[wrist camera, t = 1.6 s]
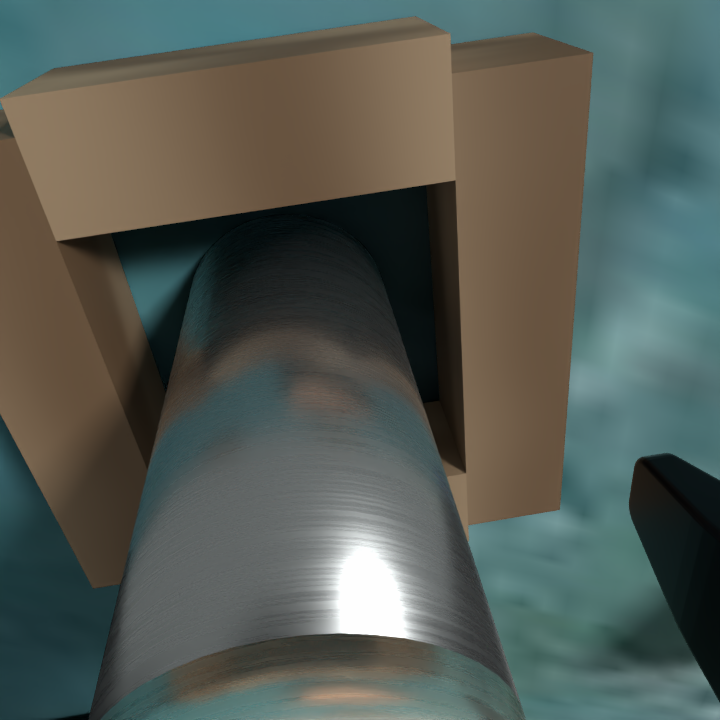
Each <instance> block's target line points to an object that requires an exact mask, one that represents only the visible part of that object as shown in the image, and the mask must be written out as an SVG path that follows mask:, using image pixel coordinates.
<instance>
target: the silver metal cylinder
mask: <svg viewBox="0 0 720 720" xmlns="http://www.w3.org/2000/svg"><path fill="white" fill-rule="evenodd" d="M89 720H526V718H525V715H524V712H523V709H522V706H521V703H520V700H519V697H518V694H517V691H516V688H515V685H514V681H513V678H512V675H511V672H510V669H509V666H508V663H507V660H506V657H505V654H504V651H503V648H502V645H501V642H500V639H499V636H498V632H497V629H496V626H495V623H494V620H493V617H492V614H491V611H490V608H489V605H488V602H487V599H486V596H485V593H484V590H483V587H482V583H481V580H480V577H479V574H478V571H477V568H476V565H475V562H474V559H473V556H472V553H471V550H470V547H469V544H468V541H467V538H466V534H465V531H464V528H463V525H462V522H461V519H460V516H459V513H458V510H457V507H456V504H455V501H454V498H453V495H452V492H451V489H450V485H449V482H448V479H447V476H446V473H445V470H444V467H443V464H442V461H441V458H440V455H439V452H438V449H437V446H436V443H435V440H434V436H433V433H432V430H431V427H430V424H429V421H428V418H427V415H426V412H425V409H424V406H423V403H422V400H421V397H420V394H419V391H418V388H417V384H416V381H415V378H414V375H413V372H412V369H411V366H410V363H409V360H408V357H407V354H406V351H405V348H404V345H403V342H402V339H401V335H400V332H399V329H398V326H397V323H396V320H395V317H394V314H393V311H392V308H391V305H390V302H389V299H388V296H387V293H386V290H385V286H384V283H383V280H382V277H381V274H380V271H379V269H378V267H377V265H376V263H375V261H374V259H373V258H372V257H371V255H370V254H369V252H368V251H367V250H366V249H365V248H364V246H363V245H362V244H361V243H360V242H359V241H358V240H357V239H355V238H354V237H353V236H352V235H350V234H349V233H348V232H346V231H344V230H343V229H341V228H339V227H338V226H336V225H334V224H331V223H329V222H327V221H324V220H321V219H317V218H314V217H310V216H304V215H294V214H281V215H270V216H266V217H261V218H257V219H254V220H251V221H249V222H246V223H244V224H242V225H240V226H238V227H236V228H234V229H232V230H231V231H229V232H228V233H226V234H225V235H223V236H222V237H221V238H220V239H219V240H218V241H217V242H216V243H214V244H213V245H212V247H211V248H210V249H209V250H208V251H207V253H206V254H205V255H204V257H203V258H202V260H201V262H200V264H199V265H198V267H197V270H196V272H195V275H194V278H193V282H192V286H191V290H190V294H189V298H188V303H187V307H186V311H185V315H184V319H183V324H182V328H181V332H180V336H179V341H178V345H177V349H176V353H175V357H174V362H173V366H172V370H171V374H170V378H169V383H168V387H167V391H166V395H165V399H164V404H163V408H162V412H161V416H160V421H159V425H158V429H157V433H156V437H155V442H154V446H153V450H152V454H151V458H150V463H149V467H148V471H147V475H146V480H145V484H144V488H143V492H142V496H141V501H140V505H139V509H138V513H137V517H136V522H135V526H134V530H133V534H132V539H131V543H130V547H129V551H128V555H127V560H126V564H125V568H124V572H123V576H122V581H121V585H120V589H119V593H118V597H117V602H116V606H115V610H114V614H113V619H112V623H111V627H110V631H109V635H108V640H107V644H106V648H105V652H104V656H103V661H102V665H101V669H100V673H99V678H98V682H97V686H96V690H95V694H94V699H93V703H92V707H91V711H90V715H89Z"/></svg>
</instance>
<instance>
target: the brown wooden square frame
mask: <svg viewBox="0 0 720 720" xmlns="http://www.w3.org/2000/svg"><path fill="white" fill-rule="evenodd" d="M592 63H593V53H592V52H589V51H586V50H583V49H580V48H577V47H574V46H571V45H568V44H565V43H562V42H560V41H557V40H554V39H551V38H548V37H545V36H542V35H539V34H536V33H526V34H519V35H513V36H506V37H499V38H492V39H485V40H478V41H471V42H464V43H458V44H451V40H450V33H448V32H446V31H444V30H442V29H440V28H438V27H436V26H434V25H432V24H430V23H428V22H426V21H424V20H422V19H420V18H418V17H416V16H415V17H408V18H401V19H394V20H387V21H380V22H373V23H367V24H360V25H353V26H346V27H339V28H332V29H325V30H318V31H311V32H304V33H297V34H290V35H283V36H276V37H269V38H262V39H255V40H248V41H241V42H234V43H228V44H221V45H214V46H207V47H200V48H193V49H186V50H179V51H172V52H165V53H158V54H151V55H144V56H137V57H130V58H123V59H116V60H109V61H102V62H95V63H89V64H82V65H75V66H68V67H61V68H54V69H52V70H50V71H48V72H47V73H45V74H43V75H41V76H39V77H38V78H36V79H34V80H32V81H31V82H29V83H27V84H25V85H24V86H22V87H20V88H18V89H16V90H15V91H13V92H11V93H9V94H8V95H6V96H4V97H2V98H1V99H0V101H1V104H2V106H3V109H4V110H0V414H1V416H2V418H3V420H4V422H5V424H6V426H7V427H8V429H9V431H10V433H11V435H12V437H13V439H14V441H15V442H16V444H17V446H18V448H19V450H20V452H21V454H22V456H23V458H24V459H25V461H26V463H27V465H28V467H29V469H30V471H31V473H32V474H33V476H34V478H35V480H36V482H37V484H38V486H39V488H40V490H41V491H42V493H43V495H44V497H45V499H46V501H47V503H48V505H49V506H50V508H51V510H52V512H53V514H54V516H55V518H56V520H57V522H58V523H59V525H60V527H61V529H62V531H63V533H64V535H65V537H66V538H67V540H68V542H69V544H70V546H71V548H72V550H73V552H74V554H75V555H76V557H77V559H78V561H79V563H80V565H81V567H82V569H83V570H84V572H85V574H86V576H87V578H88V580H89V582H90V584H91V586H92V587H93V589H94V588H100V587H106V586H112V585H118V584H121V581H122V576H123V572H124V568H125V564H126V560H127V555H128V551H129V547H130V543H131V539H132V534H133V530H134V526H135V522H136V517H137V513H138V509H139V505H140V501H141V496H142V492H143V488H144V484H145V480H146V475H147V471H148V467H149V463H150V458H151V454H152V450H153V446H154V442H155V437H156V433H157V429H158V425H159V421H160V416H161V412H162V408H163V404H164V399H165V395H166V391H165V389H164V386H163V383H162V380H161V377H160V374H159V371H158V368H157V366H156V363H155V360H154V357H153V354H152V351H151V348H150V345H149V342H148V340H147V337H146V334H145V331H144V328H143V325H142V322H141V319H140V316H139V314H138V311H137V308H136V305H135V302H134V299H133V296H132V293H131V291H130V288H129V285H128V282H127V279H126V276H125V273H124V270H123V267H122V265H121V262H120V259H119V256H118V253H117V250H116V247H115V244H114V242H113V239H112V236H111V233H113V232H120V231H126V230H133V229H139V228H146V227H153V226H159V225H166V224H172V223H179V222H185V221H192V220H199V219H205V218H212V217H218V216H225V215H231V214H238V213H245V212H251V211H258V210H264V209H271V208H277V207H284V206H291V205H297V204H304V203H310V202H317V201H323V200H330V199H337V198H343V197H350V196H356V195H363V194H369V193H376V192H383V191H389V190H396V189H402V188H409V187H415V186H422V185H426V189H427V205H428V221H429V238H430V254H431V270H432V286H433V303H434V319H435V335H436V351H437V367H438V384H439V401H433V402H427V403H423V406H424V409H425V412H426V415H427V418H428V421H429V424H430V427H431V430H432V433H433V436H434V440H435V443H436V446H437V449H438V452H439V455H440V458H441V461H442V464H443V467H444V470H445V473H446V476H447V479H448V482H449V485H450V489H451V492H452V495H453V498H454V501H455V504H456V507H457V510H458V513H459V516H460V519H461V522H462V525H463V528H464V531H465V534H466V538H467V541H469V535H468V525H472V524H478V523H484V522H490V521H496V520H502V519H508V518H514V517H520V516H526V515H532V514H537V513H543V512H549V511H555V510H560V500H561V486H562V473H563V459H564V445H565V432H566V418H567V404H568V391H569V377H570V363H571V350H572V336H573V322H574V309H575V295H576V282H577V268H578V254H579V241H580V227H581V213H582V200H583V186H584V172H585V159H586V145H587V131H588V118H589V104H590V90H591V77H592Z"/></svg>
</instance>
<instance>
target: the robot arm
mask: <svg viewBox="0 0 720 720" xmlns="http://www.w3.org/2000/svg"><path fill="white" fill-rule="evenodd" d="M629 510H630V515H631V519H632V521H633V524H634V526H635V528H636V531H637V533H638V535H639V538H640V540H641V542H642V545H643V547H644V549H645V552H646V554H647V556H648V559H649V561H650V563H651V566H652V568H653V570H654V573H655V575H656V577H657V580H658V582H659V584H660V587H661V589H662V591H663V594H664V596H665V598H666V601H667V603H668V605H669V608H670V610H671V612H672V615H673V617H674V619H675V621H676V623H677V625H678V628H679V630H680V631H681V633H682V635H683V637H684V639H685V641H686V643H687V645H688V647H689V648H690V650H691V652H692V654H693V655H694V657H695V659H696V661H697V663H698V664H699V666H700V668H701V670H702V672H703V673H704V675H705V677H706V679H707V680H708V682H709V684H710V686H711V688H712V689H713V691H714V693H715V695H716V697H717V698H718V700H719V702H720V480H718V479H716V478H715V477H713V476H711V475H709V474H708V473H706V472H704V471H702V470H700V469H699V468H697V467H695V466H693V465H691V464H690V463H688V462H686V461H684V460H682V459H681V458H679V457H677V456H675V455H673V454H670V453H663V454H657V455H651V456H644V457H641V458H639V459H638V460H637V461H636V463H635V466H634V472H633V479H632V485H631V492H630V498H629ZM77 720H89V718H83V719H77Z"/></svg>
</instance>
